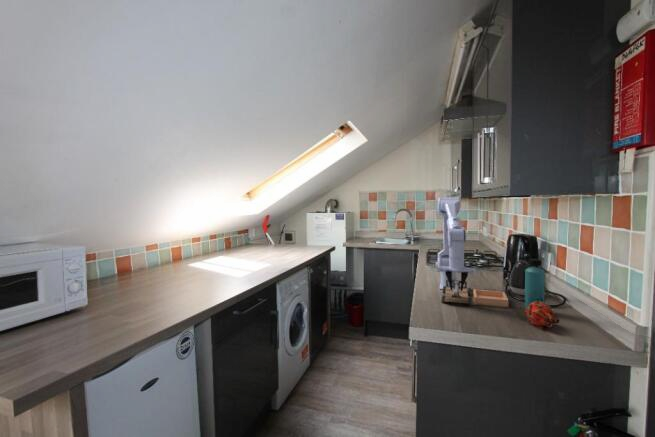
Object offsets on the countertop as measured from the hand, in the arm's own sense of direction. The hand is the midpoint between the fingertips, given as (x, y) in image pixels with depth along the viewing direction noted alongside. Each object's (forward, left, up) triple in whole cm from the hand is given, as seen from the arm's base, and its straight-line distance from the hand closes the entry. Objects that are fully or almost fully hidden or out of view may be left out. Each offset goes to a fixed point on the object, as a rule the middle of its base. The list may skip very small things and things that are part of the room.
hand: (456, 289), depth 130 cm
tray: (-6, +13, -6) cm, 15 cm away
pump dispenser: (-22, +28, -6) cm, 36 cm away
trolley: (-6, 0, -6) cm, 8 cm away
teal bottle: (+1, +28, -6) cm, 28 cm away
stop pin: (0, 0, -4) cm, 4 cm away
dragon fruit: (+16, +27, -6) cm, 32 cm away
